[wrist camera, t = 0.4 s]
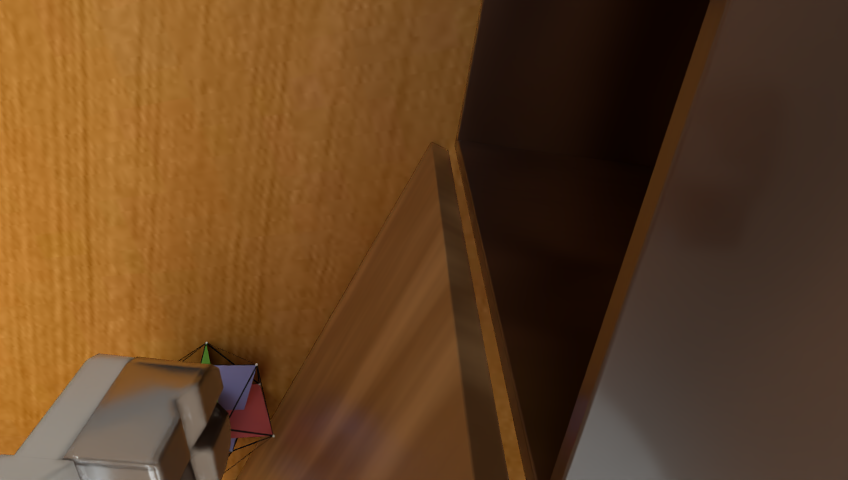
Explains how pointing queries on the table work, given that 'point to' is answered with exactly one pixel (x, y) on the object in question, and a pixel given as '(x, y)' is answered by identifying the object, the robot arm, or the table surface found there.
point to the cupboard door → (396, 361)
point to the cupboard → (665, 233)
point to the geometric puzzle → (242, 400)
